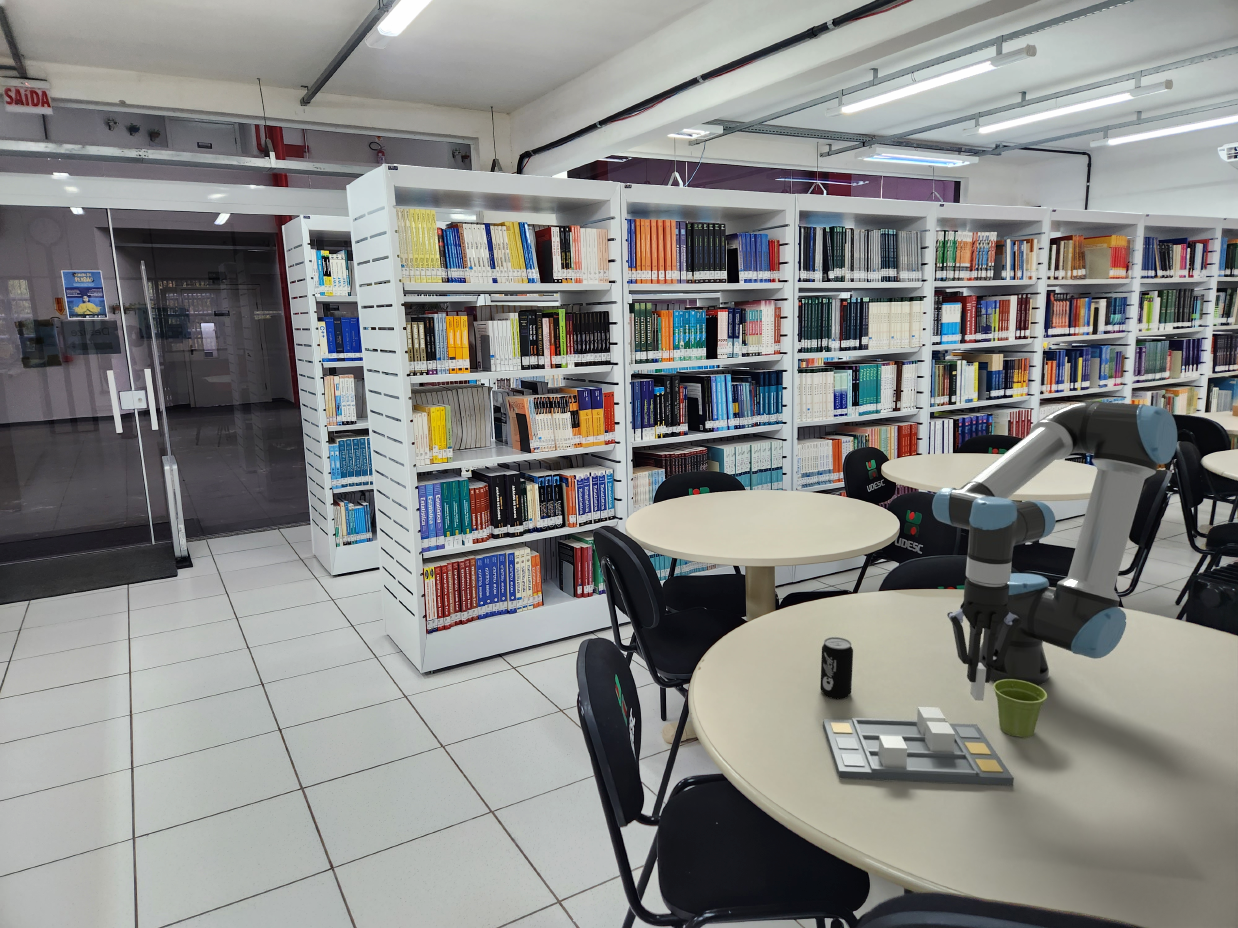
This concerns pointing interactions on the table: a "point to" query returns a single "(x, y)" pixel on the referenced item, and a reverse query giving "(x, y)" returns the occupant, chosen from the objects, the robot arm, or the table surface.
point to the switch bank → (913, 753)
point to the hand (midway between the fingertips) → (976, 696)
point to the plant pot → (1018, 706)
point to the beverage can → (836, 668)
